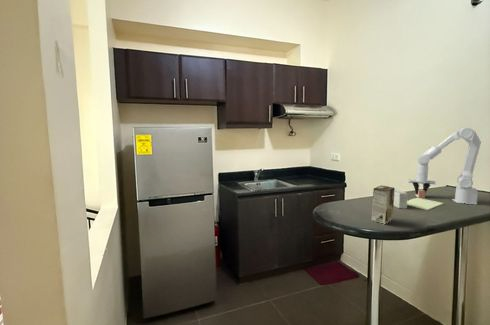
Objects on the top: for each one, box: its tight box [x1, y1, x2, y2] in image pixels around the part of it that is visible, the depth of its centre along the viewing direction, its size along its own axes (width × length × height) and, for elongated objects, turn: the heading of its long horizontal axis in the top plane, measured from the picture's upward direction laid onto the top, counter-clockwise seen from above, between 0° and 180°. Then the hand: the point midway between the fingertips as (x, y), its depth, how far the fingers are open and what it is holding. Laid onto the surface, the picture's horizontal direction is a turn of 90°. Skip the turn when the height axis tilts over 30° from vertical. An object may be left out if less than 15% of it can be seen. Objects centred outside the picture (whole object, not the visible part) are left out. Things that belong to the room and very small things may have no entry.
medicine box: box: [393, 189, 409, 210], centre depth 143 cm, size 8×4×9 cm, turn 179°
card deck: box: [415, 188, 426, 199], centre depth 164 cm, size 3×6×4 cm, turn 161°
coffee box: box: [371, 185, 396, 225], centre depth 120 cm, size 9×6×16 cm
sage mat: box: [407, 197, 444, 211], centre depth 148 cm, size 20×14×1 cm
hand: (420, 194), depth 164 cm, fingers open, 3 cm apart
